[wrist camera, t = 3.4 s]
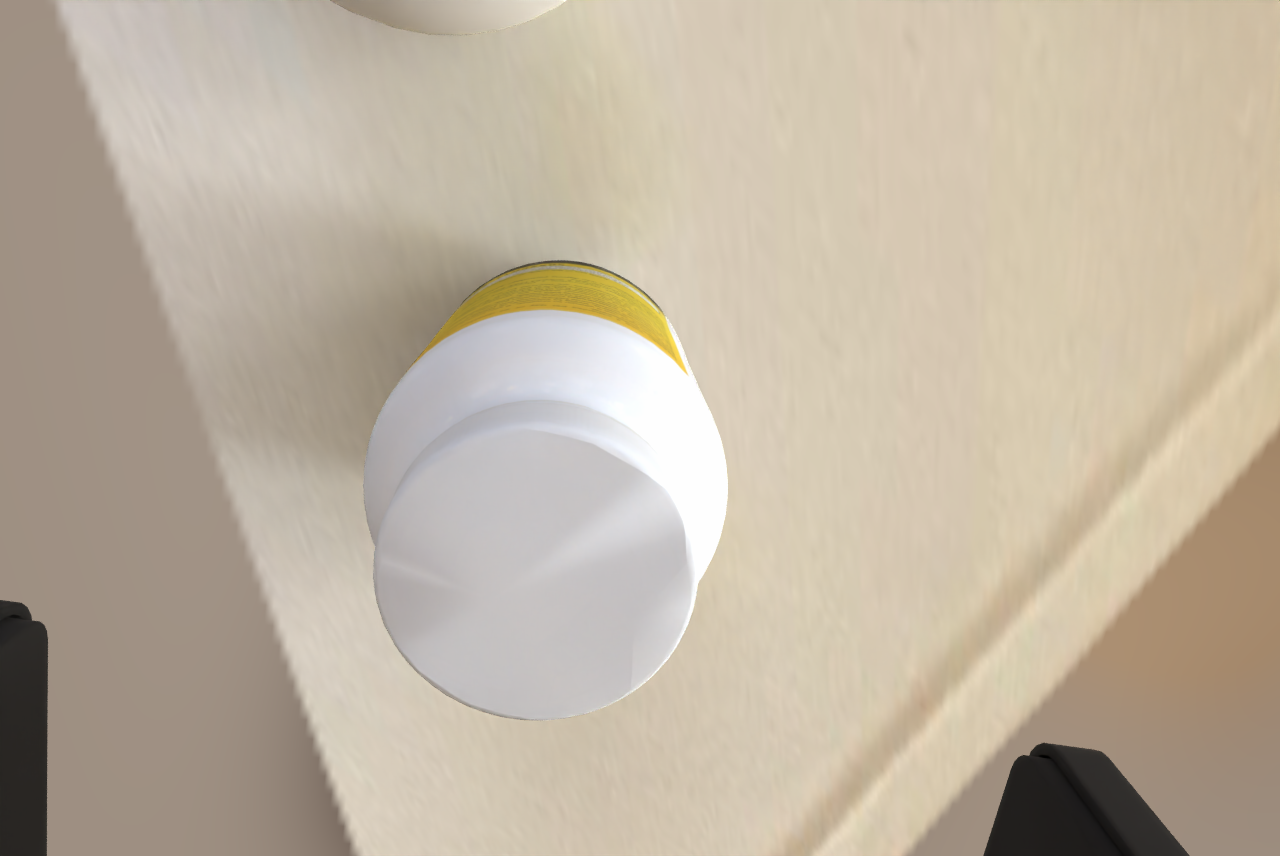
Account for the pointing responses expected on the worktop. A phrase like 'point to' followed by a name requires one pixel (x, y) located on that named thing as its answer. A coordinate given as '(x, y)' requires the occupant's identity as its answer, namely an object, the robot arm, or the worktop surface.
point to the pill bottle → (544, 495)
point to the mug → (450, 14)
